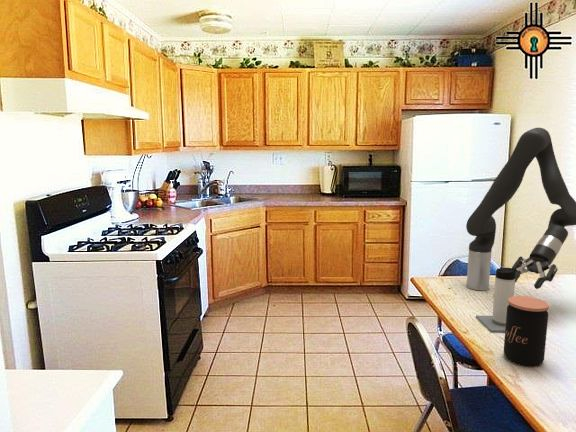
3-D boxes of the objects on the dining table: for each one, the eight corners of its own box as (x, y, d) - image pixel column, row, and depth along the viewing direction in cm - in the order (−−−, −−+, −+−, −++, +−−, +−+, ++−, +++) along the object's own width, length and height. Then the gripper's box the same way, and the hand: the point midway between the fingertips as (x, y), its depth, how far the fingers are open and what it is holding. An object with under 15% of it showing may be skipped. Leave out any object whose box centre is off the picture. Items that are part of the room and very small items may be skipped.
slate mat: (475, 317, 160) (475, 315, 160) (511, 317, 160) (511, 315, 159) (490, 332, 147) (491, 330, 147) (529, 332, 147) (529, 330, 147)
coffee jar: (496, 351, 134) (500, 296, 131) (528, 349, 134) (533, 295, 132) (516, 369, 123) (522, 309, 120) (552, 367, 124) (558, 307, 121)
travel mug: (515, 326, 150) (519, 271, 146) (494, 325, 151) (498, 270, 148) (509, 319, 156) (513, 266, 152) (490, 318, 157) (494, 265, 154)
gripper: (524, 240, 165) (502, 273, 161) (562, 247, 152) (539, 283, 149) (531, 252, 168) (510, 284, 164) (569, 260, 156) (547, 296, 152)
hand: (524, 284), depth 157 cm, fingers open, 8 cm apart
